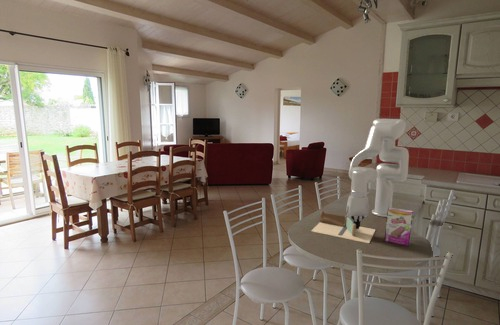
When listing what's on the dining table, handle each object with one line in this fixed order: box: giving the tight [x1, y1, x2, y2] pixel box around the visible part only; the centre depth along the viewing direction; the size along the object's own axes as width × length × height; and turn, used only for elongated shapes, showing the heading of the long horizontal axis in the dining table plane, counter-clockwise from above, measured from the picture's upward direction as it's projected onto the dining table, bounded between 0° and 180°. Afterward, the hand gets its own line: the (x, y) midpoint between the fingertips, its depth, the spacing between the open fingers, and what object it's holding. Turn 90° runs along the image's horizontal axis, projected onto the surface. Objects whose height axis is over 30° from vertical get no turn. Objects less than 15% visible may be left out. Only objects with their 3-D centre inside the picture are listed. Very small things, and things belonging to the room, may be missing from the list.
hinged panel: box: [346, 217, 356, 236], centre depth 160 cm, size 2×12×6 cm, turn 179°
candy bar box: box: [384, 207, 414, 247], centre depth 148 cm, size 11×5×16 cm, turn 59°
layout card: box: [310, 221, 376, 244], centre depth 163 cm, size 20×29×1 cm
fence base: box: [319, 210, 347, 227], centre depth 171 cm, size 2×16×7 cm, turn 60°
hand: (356, 227), depth 160 cm, fingers closed
